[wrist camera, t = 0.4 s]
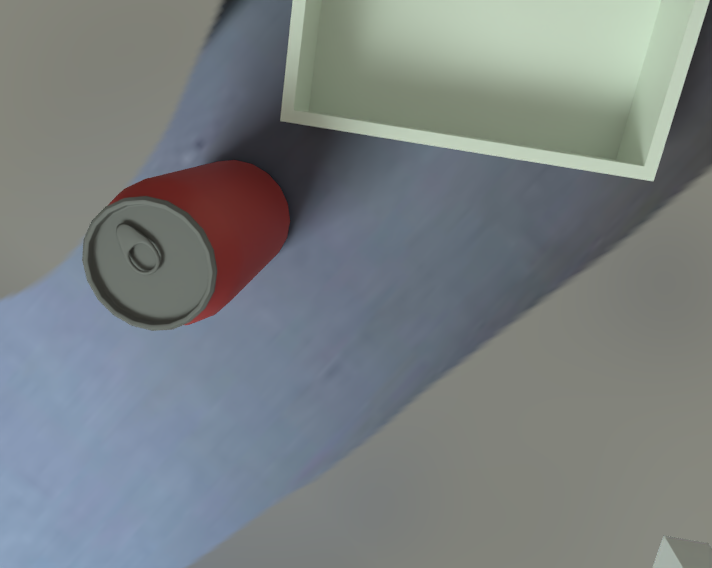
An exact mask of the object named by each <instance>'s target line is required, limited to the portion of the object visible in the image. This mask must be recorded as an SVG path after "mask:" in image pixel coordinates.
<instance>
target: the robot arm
mask: <svg viewBox="0 0 712 568" xmlns="http://www.w3.org/2000/svg"><path fill="white" fill-rule="evenodd" d="M653 568H712V548H711V546H710V545H709V544H708V543H704V542H698V541H692V540H687V539H681V538H675V537H669V536H664V537H663V539H662V542H661V546H660V548H659V551H658V554H657V557H656V559H655V562H654V565H653Z"/></svg>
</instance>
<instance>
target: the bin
mask: <svg viewBox="0 0 712 568" xmlns="http://www.w3.org/2000/svg"><path fill="white" fill-rule="evenodd" d="M709 1H710V0H293V4H292V13H291V23H290V32H289V42H288V51H287V61H286V70H285V80H284V89H283V99H282V108H281V118H280V121H283V122H289V123H295V124H301V125H308V126H314V127H320V128H326V129H332V130H339V131H345V132H351V133H357V134H363V135H370V136H376V137H382V138H388V139H394V140H401V141H407V142H413V143H419V144H425V145H432V146H438V147H444V148H450V149H456V150H463V151H469V152H475V153H481V154H487V155H494V156H500V157H506V158H512V159H518V160H525V161H531V162H537V163H543V164H549V165H556V166H562V167H568V168H574V169H580V170H586V171H593V172H599V173H605V174H611V175H617V176H624V177H630V178H636V179H642V180H648V181H654V178H655V175H656V172H657V168H658V165H659V162H660V159H661V156H662V152H663V149H664V146H665V143H666V139H667V136H668V133H669V130H670V127H671V123H672V120H673V117H674V114H675V110H676V107H677V104H678V101H679V98H680V94H681V91H682V88H683V85H684V81H685V78H686V75H687V72H688V69H689V65H690V62H691V59H692V56H693V53H694V49H695V46H696V43H697V40H698V36H699V33H700V30H701V27H702V24H703V20H704V17H705V14H706V11H707V7H708V4H709Z"/></svg>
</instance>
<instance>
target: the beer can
mask: <svg viewBox="0 0 712 568" xmlns="http://www.w3.org/2000/svg"><path fill="white" fill-rule="evenodd" d="M289 224H290V217H289V209H288V203H287V201H286V199H285V197H284V194H283V192H282V190H281V188H280V186H279V185H278V184H277V183H276V182H275V181H274V180H273V179H272V177H271V176H270V175H269V174H268V173H266V172H265V171H263V170H261V169H260V168H258V167H256V166H255V165H253V164H250V163H246V162H242V161H238V160H229V161H218V162H214V163H210V164H205V165H201V166H197V167H193V168H189V169H185V170H181V171H177V172H172V173H168V174H164V175H160V176H156V177H152V178H148V179H144V180H142V181H140V182H138V183H136V184H134V185H132V186H129V187H127V188H125V189H124V190H123V191H122V192H120V193H119V194H118V195H117V196H116V197H115V198H114V199H113V200H112V201H111V202H110V203H109V205H108V206H106V207H105V208H104V209H103V210H102V211H101V212H100V213H99V214H98V215H97V216H96V217H95V218H94V219H93V220H92V222H91V224H90V226H89V228H88V231H87V233H86V235H85V238H84V243H83V257H82V261H83V265H84V269H85V273H86V278H87V281H88V283H89V285H90V286H91V288H92V290H93V292H94V293H95V295H96V297H97V299H98V300H99V301H100V302H101V303H102V304H103V305H104V306H105V307H106V308H107V309H108V310H109V311H110V312H111V313H112V314H113V315H114V316H116V317H118V318H120V319H121V320H123V321H125V322H126V323H128V324H130V325H132V326H136V327H140V328H144V329H148V330H152V331H154V330H172V329H174V328H177V327H179V326H182V325H189V324H192V323H195V322H197V321H200V320H202V319H205V318H207V317H210V316H212V315H215V314H216V313H217V312H218V311H220V310H221V309H222V308H223V307H224V306H225V305H226V304H228V303H229V302H230V301H231V300H232V299H233V298H234V297H235V296H236V295H237V294H238V293H239V292H240V291H241V290H242V289H243V288H244V287H245V286H246V285H247V284H248V283H249V282H250V281H251V280H252V279H253V278H254V277H255V276H256V275H257V274H258V273H259V272H260V271H261V270H262V269H263V268H264V267H265V266H266V265H267V264H268V263H269V262H270V261H271V260H272V259H273V258H274V257H275V256H276V255H277V254H278V253H279V251H280V249H281V248H282V246H283V244H284V242H285V240H286V239H287V235H288V229H289Z"/></svg>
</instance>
